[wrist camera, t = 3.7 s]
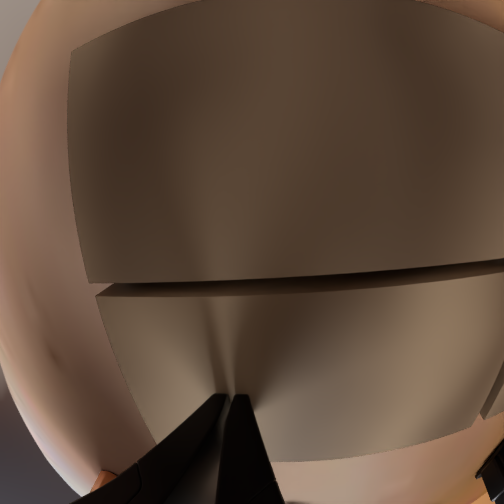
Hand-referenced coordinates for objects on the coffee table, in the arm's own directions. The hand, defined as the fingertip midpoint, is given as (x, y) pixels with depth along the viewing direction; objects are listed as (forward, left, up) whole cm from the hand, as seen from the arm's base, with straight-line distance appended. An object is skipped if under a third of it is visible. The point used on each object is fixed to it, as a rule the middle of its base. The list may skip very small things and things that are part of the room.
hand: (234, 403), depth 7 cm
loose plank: (-3, 0, -2) cm, 4 cm away
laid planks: (-6, -4, -2) cm, 7 cm away
